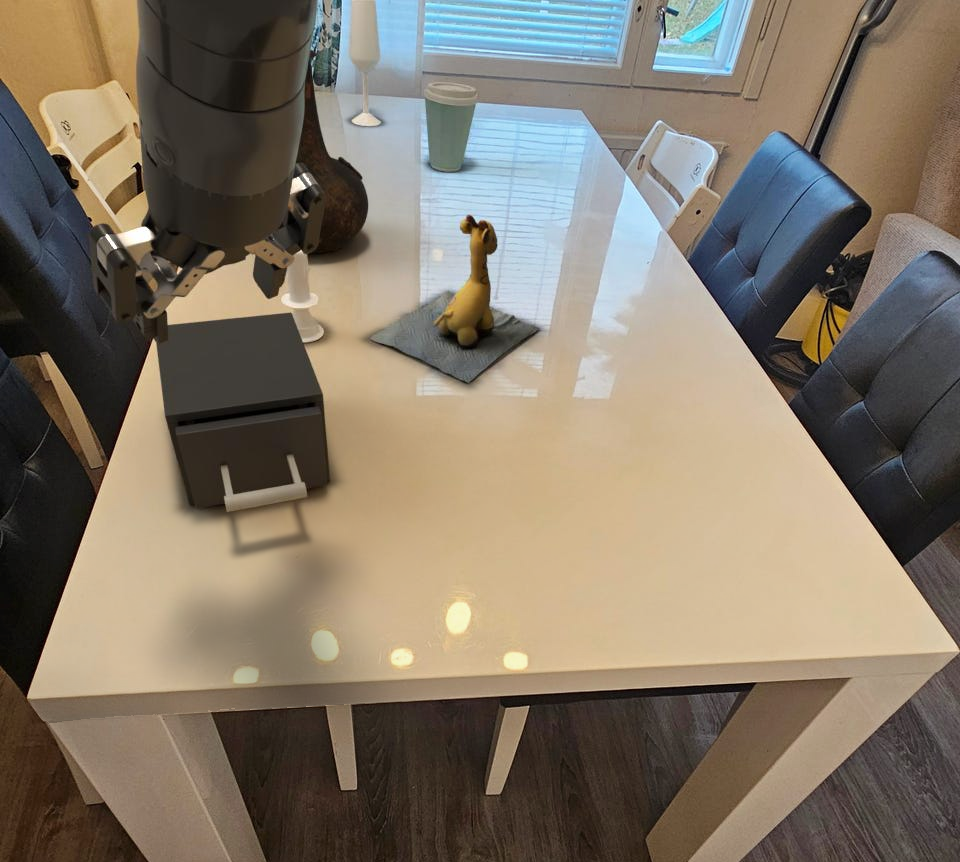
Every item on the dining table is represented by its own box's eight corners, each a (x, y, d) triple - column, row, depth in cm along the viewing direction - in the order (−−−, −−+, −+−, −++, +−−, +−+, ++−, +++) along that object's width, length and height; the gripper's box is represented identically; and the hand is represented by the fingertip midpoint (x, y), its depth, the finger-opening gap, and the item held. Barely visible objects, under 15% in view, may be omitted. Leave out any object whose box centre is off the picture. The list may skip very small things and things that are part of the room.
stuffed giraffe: (540, 329, 99) (553, 214, 88) (468, 386, 88) (471, 264, 77) (448, 295, 105) (449, 184, 94) (370, 345, 94) (360, 227, 83)
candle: (283, 322, 95) (272, 234, 87) (323, 322, 96) (317, 235, 88) (282, 343, 91) (270, 253, 83) (324, 343, 92) (317, 253, 84)
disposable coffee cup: (418, 157, 147) (420, 75, 137) (469, 159, 149) (474, 78, 139) (424, 175, 140) (427, 89, 130) (477, 177, 142) (484, 93, 132)
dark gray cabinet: (330, 480, 73) (323, 393, 66) (189, 505, 69) (164, 415, 61) (300, 395, 83) (291, 312, 76) (176, 412, 79) (154, 326, 72)
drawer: (340, 523, 67) (335, 450, 61) (202, 550, 63) (181, 476, 57) (299, 403, 81) (291, 334, 74) (182, 420, 77) (164, 348, 70)
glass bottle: (385, 257, 112) (384, 50, 93) (274, 272, 105) (247, 53, 86) (345, 214, 123) (336, 21, 103) (242, 226, 116) (212, 21, 96)
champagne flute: (349, 124, 160) (344, -6, 143) (354, 116, 164) (349, -11, 148) (378, 127, 160) (377, -3, 143) (382, 119, 165) (381, -8, 148)
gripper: (299, 44, 39) (269, 235, 53) (34, 100, 32) (81, 302, 46) (377, 152, 38) (326, 315, 53) (126, 232, 32) (145, 394, 46)
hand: (211, 309), depth 50 cm, fingers open, 8 cm apart
